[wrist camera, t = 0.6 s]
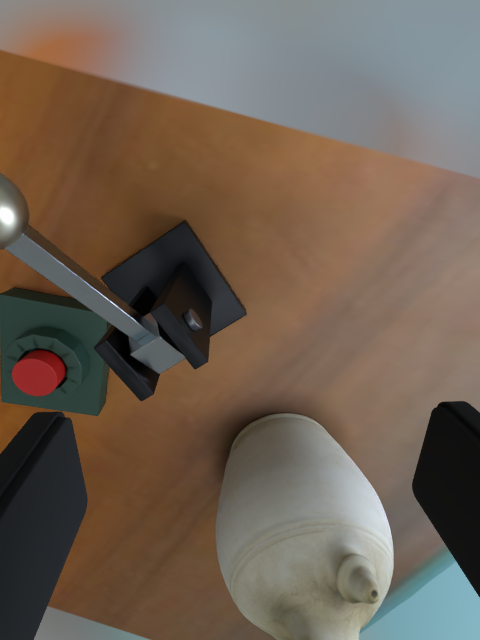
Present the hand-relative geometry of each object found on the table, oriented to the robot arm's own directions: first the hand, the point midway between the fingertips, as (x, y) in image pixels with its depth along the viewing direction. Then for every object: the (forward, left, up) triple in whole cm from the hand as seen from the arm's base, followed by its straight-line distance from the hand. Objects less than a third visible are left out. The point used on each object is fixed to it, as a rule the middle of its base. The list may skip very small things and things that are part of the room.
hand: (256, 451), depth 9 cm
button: (+12, -14, -20) cm, 27 cm away
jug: (+21, +11, -24) cm, 33 cm away
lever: (0, -8, -11) cm, 14 cm away
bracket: (+4, -4, -24) cm, 24 cm away
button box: (+12, -14, -24) cm, 30 cm away
